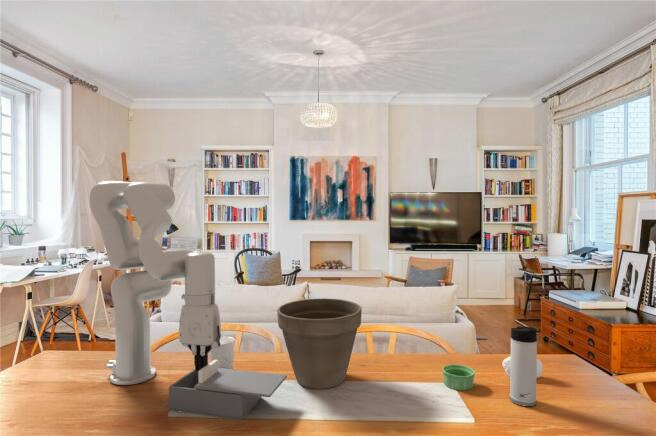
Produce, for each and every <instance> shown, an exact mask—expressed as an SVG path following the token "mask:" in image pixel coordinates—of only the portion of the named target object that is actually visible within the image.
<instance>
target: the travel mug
mask: <svg viewBox="0 0 656 436" xmlns="http://www.w3.org/2000/svg"><path fill="white" fill-rule="evenodd" d="M510 334H511V335H510V345H511V346H510V356H511V359H510V377H509V379H510V380H509V381H510V382H509V384H510V385H509V388H510V389H509V400H510V401H511V402H512V403H513V402H514V403H513V404H515V403H516V404H515V405H517V404H520V405H525V406H532V407H534V406H533V405H535V404H537V378H536V377H537V359H538V357H537V356H538V340H537V339H538V338H537V337H538V328H536V327H532V326H517V327H511V328H510ZM535 406H536V405H535Z"/></svg>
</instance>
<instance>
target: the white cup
mask: <svg viewBox="0 0 656 436" xmlns="http://www.w3.org/2000/svg"><path fill="white" fill-rule="evenodd" d="M219 341H220V347H219V348H217V349H211V350H210V352H209V353H208V360H209V363H211V362H212V361H213V360H218V368H223V369H233V370H234V361H235V360H234V359H235V341H236V340H235V337H233V336H230V335H229V336H228V335H227V336H225V335H223V336H222V335H221V339H220V340H219Z"/></svg>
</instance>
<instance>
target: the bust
mask: <svg viewBox="0 0 656 436" xmlns="http://www.w3.org/2000/svg"><path fill="white" fill-rule="evenodd" d="M510 347H511V344H510ZM510 359H511V355H510V356H508V357H505V358H504V359H503V361H502V367H503V369H504V371H505V373H506V374H505V375H506V377H508V378H510ZM543 368H544V366H543V362H542V361H541V359H539V358H537V377H536V379H539V378H541V376H542V375H543V373H544V372H543Z"/></svg>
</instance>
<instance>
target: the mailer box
mask: <svg viewBox="0 0 656 436" xmlns="http://www.w3.org/2000/svg"><path fill="white" fill-rule="evenodd" d="M198 371H199V370H198ZM198 371H195V368H194V369H192V370H191V371H190V372H188V373H187V374H185V375H183V376H182V377H181V378H179V379H178V380H176V381H175V382H173V383H172V384H171V385H169V386H168V410H169V411H173V412H179V411H181V413H186V412H187V413H188V414H194V415H195V414H196V415H201V416H202V415H203V416H211V417H218V418H225V419H230V420H231V419H233V420H239V421H240V420H241V421H243V419H244V418H246V416H247V415H248V414H249V412H251V410H253V408H254V407H255V406H256V405H257V404H258V403H259V401H260V400H261V399H262V398H263V397H261V396H253V395H245V394H236V393H228V392H219V391H211V390H202V389H194V386H195V385H196V384H198V383H199V373H198Z"/></svg>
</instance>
